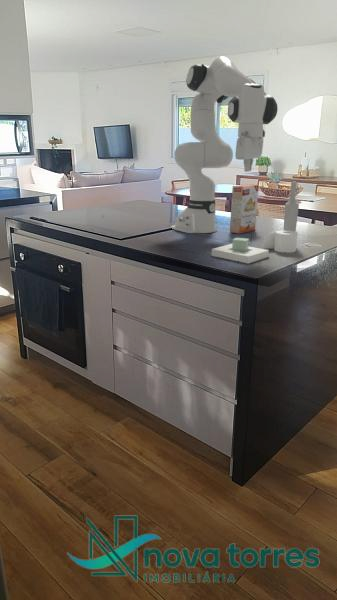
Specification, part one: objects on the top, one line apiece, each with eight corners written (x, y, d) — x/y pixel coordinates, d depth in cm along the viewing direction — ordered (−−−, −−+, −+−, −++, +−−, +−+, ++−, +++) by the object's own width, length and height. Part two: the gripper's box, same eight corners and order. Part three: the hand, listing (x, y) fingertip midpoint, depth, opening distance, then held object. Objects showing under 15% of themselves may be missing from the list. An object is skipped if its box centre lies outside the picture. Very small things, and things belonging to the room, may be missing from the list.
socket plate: (211, 255, 164) (211, 249, 163) (232, 249, 173) (232, 243, 172) (248, 263, 153) (248, 256, 153) (268, 256, 162) (268, 250, 161)
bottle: (289, 247, 176) (295, 182, 168) (278, 245, 180) (284, 181, 172) (297, 246, 179) (304, 181, 171) (287, 243, 183) (293, 180, 175)
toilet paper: (263, 248, 175) (264, 231, 173) (290, 247, 177) (291, 230, 175) (271, 253, 167) (273, 235, 165) (299, 252, 170) (301, 234, 167)
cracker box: (240, 234, 200) (243, 186, 193) (229, 232, 204) (231, 185, 197) (256, 230, 210) (259, 184, 203) (245, 228, 214) (247, 183, 207)
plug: (231, 255, 162) (232, 239, 160) (234, 253, 166) (235, 237, 164) (245, 257, 160) (246, 240, 158) (248, 254, 164) (249, 238, 162)
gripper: (249, 131, 153) (246, 173, 158) (266, 132, 170) (263, 170, 175) (232, 131, 156) (230, 172, 161) (250, 132, 173) (248, 169, 178)
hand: (247, 171), depth 168 cm, fingers closed
